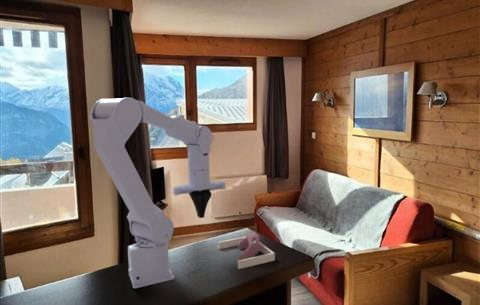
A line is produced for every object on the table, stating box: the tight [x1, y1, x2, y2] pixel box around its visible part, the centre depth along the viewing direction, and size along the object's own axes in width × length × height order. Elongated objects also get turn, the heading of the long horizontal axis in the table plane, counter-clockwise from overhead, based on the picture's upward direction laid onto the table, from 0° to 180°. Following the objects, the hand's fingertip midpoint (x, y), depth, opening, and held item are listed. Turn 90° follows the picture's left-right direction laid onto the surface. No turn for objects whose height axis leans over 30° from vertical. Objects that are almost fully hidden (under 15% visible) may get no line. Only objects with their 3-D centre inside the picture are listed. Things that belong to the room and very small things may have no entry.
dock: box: [217, 235, 276, 270], centre depth 95 cm, size 11×14×2 cm
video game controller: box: [237, 232, 261, 260], centre depth 94 cm, size 10×5×7 cm, turn 1°
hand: (200, 216), depth 96 cm, fingers closed
